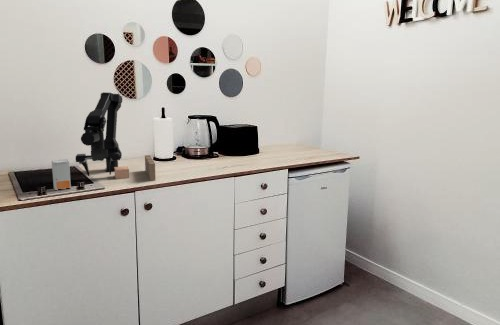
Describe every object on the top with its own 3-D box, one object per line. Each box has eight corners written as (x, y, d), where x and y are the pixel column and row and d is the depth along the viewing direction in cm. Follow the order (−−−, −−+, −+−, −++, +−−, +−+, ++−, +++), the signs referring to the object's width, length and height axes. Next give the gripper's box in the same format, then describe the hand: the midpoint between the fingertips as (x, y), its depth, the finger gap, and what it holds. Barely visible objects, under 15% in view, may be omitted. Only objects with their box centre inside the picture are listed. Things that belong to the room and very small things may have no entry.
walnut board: (145, 170, 187) (144, 155, 185) (150, 170, 188) (149, 155, 186) (149, 180, 168) (149, 163, 166) (155, 180, 168) (154, 163, 167)
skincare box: (55, 191, 149) (52, 162, 146) (53, 188, 152) (51, 160, 150) (71, 188, 152) (69, 160, 150) (69, 186, 155) (67, 159, 153)
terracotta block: (114, 176, 175) (114, 167, 174) (127, 175, 177) (127, 166, 176) (115, 179, 170) (115, 169, 169) (129, 178, 172) (128, 168, 171)
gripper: (73, 145, 156) (76, 180, 159) (119, 144, 162) (121, 177, 166) (75, 141, 166) (77, 175, 169) (118, 140, 172) (120, 172, 176)
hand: (99, 175), depth 170 cm, fingers open, 9 cm apart
